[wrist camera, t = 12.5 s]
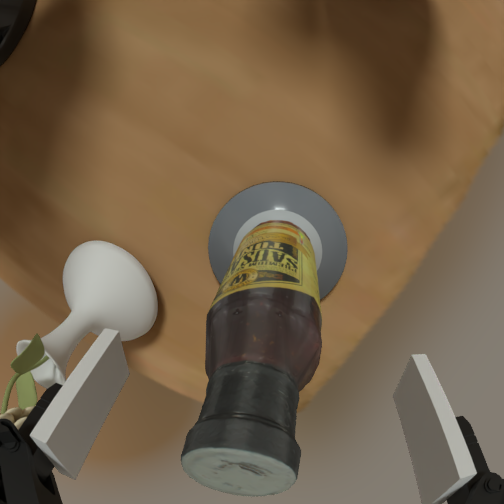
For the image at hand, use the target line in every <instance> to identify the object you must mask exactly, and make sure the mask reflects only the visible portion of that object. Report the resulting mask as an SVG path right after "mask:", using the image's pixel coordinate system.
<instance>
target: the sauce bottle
mask: <svg viewBox="0 0 504 504" xmlns="http://www.w3.org/2000/svg"><path fill="white" fill-rule="evenodd" d="M321 326H322V315H321V306H320V297H319V286H318V277H317V269H316V260H315V253H314V250H313V246H312V244H311V242H310V238H309V237H308V236H307V234H306V233H305V232H304V231H303V230H302V229H301V228H300V227H298V226H297V225H295V224H293V223H292V222H289V221H283V220H269V221H266V222H262V223H260V224H259V225H257V226H256V227H254V228H253V229H252V230H251V231H249V232H248V233H247V234H246V235H245V236H244V238H243V239H242V241H241V243H240V245H239V247H238V249H237V251H236V253H235V255H234V257H233V260H232V262H231V264H230V266H229V268H228V270H227V273H226V275H225V277H224V279H223V281H222V283H221V285H220V287H219V290H218V292H217V295H216V297H215V299H214V301H213V303H212V305H211V307H210V310H209V312H208V314H207V320H206V360H205V369H206V374H207V376H208V378H209V382H208V385H207V389H206V398H205V401H204V404H203V406H202V410H201V413H200V416H199V419H198V421H197V423H196V424H195V425H194V427H193V428H192V429H191V430H189V432H188V434H187V436H186V441H185V445H184V449H183V451H182V454H181V462H182V467H183V470H184V471H185V472H186V473H187V474H188V475H189V477H190V478H192V479H194V480H195V481H196V482H198V483H200V484H202V485H204V486H206V487H209V488H211V489H214V490H218V491H221V492H225V493H229V494H233V495H241V496H265V495H274V494H278V493H281V492H283V491H286V490H288V489H289V488H290V487H291V486H292V485H293V484H294V483H295V481H296V479H297V475H298V469H299V463H300V457H301V450H300V447H299V445H298V444H297V442H296V440H295V426H296V412H297V411H296V409H297V407H298V402H299V391H301V390H302V389H303V388H304V387H305V385H306V384H308V383H309V382H310V381H311V379H312V377H313V375H314V373H315V371H316V369H317V367H318V365H319V360H320V354H321V348H322V340H321Z"/></svg>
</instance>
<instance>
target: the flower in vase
mask: <svg viewBox="0 0 504 504" xmlns="http://www.w3.org/2000/svg"><path fill="white" fill-rule="evenodd" d="M63 287H64V293H65V297H66V300H67V303H68V305H69V307H70V309H71V313H70V315H69V316H68V317H67V318H66V319H65V321H64V322H63V323H62V324H60V325H59V326H58V327H57V328H56V329H55V330H53V331H52V332H51V333H49V334H48V335H46V336H44V337H43V338H40V337H39V335H38V334H36V335H35V336H34V338H33V339H32V340H21V341H19V342H18V343H17V347H16V349H17V355H18V356H17V357H16V358H15V359H14V360H13V361H12V362H11V367H12V368H13V370H14V371H15V372H16V374H15V375H14V376H13V377H12V378H11V380H10V381H9V383H8V386H7V388H6V391H5V395H4V399H3V404H2V409H1V413H0V419H8V420H10V421H12V423H13V424H14V425H15V426H16V428H17V429H18V430H19V428H20V427H21V425H22V424H23V422H24V421H25V419H26V418H27V416H28V415H29V414H30V412H31V411H32V409H33V408H34V406H35V405H36V403H37V393H36V388H35V384H34V380H35V381H36V382H37V383H39V384H40V385H41V386H43V387H45V388H46V389H48V388H49V387H51V386H52V385H53V384H55V383H58V384H61V385H64V383H65V382H66V377H65V371H66V366H67V363H68V360H69V358H70V356H71V354H72V352H73V351H74V349H75V347H76V346H77V345H78V343H79V342H80V341H81V340H82V339H83V338H84V337H85V335H86V334H88V333H89V332H93V333H94V334H96V335H98V336H99V335H100V334H101V333H102V331H103V330H104V329H105V328H106V329H111V330H116V331H119V333H120V338H121V341H130V340H133V339H136V338H138V337H140V336H142V335H144V334H145V333H147V332H148V331H149V330H150V329H151V327H152V326H153V324H154V322H155V320H156V317H157V312H158V301H157V295H156V291H155V288H154V285H153V283H152V281H151V279H150V277H149V275H148V273H147V272H146V270H145V269H144V267H143V266H142V265H141V264H140V262H139V261H138V260H137V259H136V258H135V257H134V256H132V255H131V254H130V253H128V252H127V251H125V250H124V249H122V248H120V247H118V246H116V245H114V244H111V243H108V242H104V241H89V242H85V243H83V244H81V245H79V246H78V247H76V248H75V249H74V250H73V251H72V253H71V254H70V256H69V257H68V259H67V261H66V264H65V267H64V271H63ZM15 381H16V389H17V394H18V403H19V407H15V408H11V409H9V410H7V406H8V400H9V396H10V393H11V389H12V387H13V385H14V383H15Z"/></svg>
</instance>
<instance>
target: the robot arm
mask: <svg viewBox="0 0 504 504" xmlns="http://www.w3.org/2000/svg"><path fill="white" fill-rule="evenodd" d="M35 1H36V0H0V66H1V65H2V64H3V63H4V61H5V60H6V59H7V58H8V57H9V55H10V54H11V52H12V51H13V50H14V48H15V47H16V45H17V43H18V42H19V40H20V38H21V36H22V35H23V33H24V31H25V29H26V26H27V24H28V22H29V20H30V17H31V15H32V12H33V9H34V5H35ZM129 374H130V373H129V369H128V366H127V362H126V358H125V354H124V350H123V346H122V342H121V338H120V333H119V331H116V330H111V329H106V328H105V329H104V330H103V331H102V333H101V334H100V335H99V337H98V338H97V339H96V341H95V342H94V343H93V345H92V346H91V347H90V349H89V350H88V352H87V353H86V354H85V356H84V357H83V358H82V359H81V361H80V362H79V364H78V365H77V366H76V368H75V369H74V370H73V372H72V373H71V375H70V376H69V377H68V379H67V380H66V382H65V383H64V385H61V384H58V383H55V384H53V385H52V386H51V387H49V388H48V389H47V390H46V391H45V392H44V394H43V395H42V397H41V399H40V400H39V401H38V402H37V404H36V406H34V408H33V409H32V411H31V412H30V414H29V415H28V416H27V418H26V419H25V421H24V422H23V424H22V425H21V427H20V428H19V430H18V429H17V428H16V426H15V425H14V424H13V423H12V421H10V420H8V419H0V504H63V503H62V501H61V497H60V494H59V491H58V488H57V484H56V481H55V478H54V475H53V473H52V469H53V468H54V467H55V468H56V469H57V470H58V471H59V472H60V473H61V474H63V475H66V476H68V477H70V478H72V479H74V480H76V477H77V476H78V473H79V471H80V469H81V467H82V465H83V463H84V461H85V459H86V457H87V455H88V453H89V451H90V449H91V447H92V445H93V443H94V441H95V438H96V437H97V435H98V433H99V431H100V429H101V427H102V425H103V423H104V421H105V419H106V418H107V416H108V414H109V412H110V410H111V408H112V406H113V404H114V402H115V400H116V399H117V397H118V395H119V393H120V391H121V389H122V387H123V385H124V383H125V382H126V380H127V378H128V376H129ZM393 398H394V401H395V404H396V408H397V411H398V414H399V417H400V420H401V424H402V428H403V431H404V435H405V438H406V442H407V446H408V449H409V453H410V457H411V461H412V465H413V469H414V473H415V477H416V481H417V485H418V489H419V494H420V498H421V503H422V504H442V503H443V502H445V501H446V500H447V502H448V504H504V479H502V478H501V477H500V476H499V475H497V474H496V473H492V472H490V470H489V469H488V466H487V463H486V461H485V458H484V456H483V453H482V451H481V448H480V446H479V443H477V439H476V436H474V432H473V429H472V427H471V425H470V423H469V422H468V421H467V420H466V419H465V418H464V417H463V416H460V417H455V416H454V413H453V411H452V409H451V407H450V404H449V402H448V400H447V398H446V395H445V393H444V391H443V389H442V387H441V385H440V383H439V380H438V379H437V376H436V374H435V372H434V370H433V368H432V366H431V364H430V362H429V360H428V358H427V356H426V354H417V355H411V357H410V360H409V362H408V364H407V366H406V369H405V371H404V373H403V375H402V378H401V380H400V382H399V384H398V386H397V388H396V390H395V392H394V394H393Z"/></svg>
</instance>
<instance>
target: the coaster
mask: <svg viewBox="0 0 504 504" xmlns="http://www.w3.org/2000/svg"><path fill="white" fill-rule="evenodd" d="M269 220H283V221H289V222H292V223H293V224H295V225H297V226H298V227H300V228H301V229H302V230H303V231H304V232H305V233H306V234H307V236H308V237H309V238H310V242H311V244H312V246H313V250H314V253H315V260H316V269H317V277H318V286H319V297H320V300H321V299H322V298H323V297H325V296H326V295H327V294H328V293H329V292H330V291H331V290H332V289H333V287H334V286H335V285H336V283H337V282H338V280H339V278H340V277H341V275H342V272H343V270H344V267H345V263H346V259H347V239H346V233H345V230H344V227H343V224H342V222H341V220H340V219H339V217H338V215H337V213H336V212H335V211H334V209H333V208H332V206H331V205H330V204H329V203H328V202H327V201H326V200H325V199H324V198H322V197H321V196H320V195H319V194H317V193H316V192H314V191H312V190H311V189H309V188H306V187H304V186H302V185H298V184H295V183H290V182H280V181H273V182H265V183H261V184H257V185H254V186H251V187H249V188H246V189H245V190H243V191H241V192H239V193H238V194H237V195H235V196H234V197H233V198H231V199H230V200H229V201H228V202H227V203H226V205H225V206H224V207H223V208H222V210H221V211H220V212H219V214H218V215H217V217H216V219H215V221H214V223H213V226H212V228H211V231H210V236H209V245H208V250H209V259H210V263H211V267H212V269H213V272H214V274H215V276H216V278H217V280H218V281H219V283H220V284H221V283H222V281H223V279H224V277H225V275H226V273H227V270H228V268H229V266H230V264H231V262H232V260H233V257H234V255H235V253H236V251H237V249H238V247H239V245H240V243H241V241H242V239H243V238H244V236H245V235H246V234H247V233H248V232H249V231H251V230H252V229H253V228H254V227H256V226H257V225H259V224H260V223H262V222H266V221H269Z"/></svg>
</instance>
